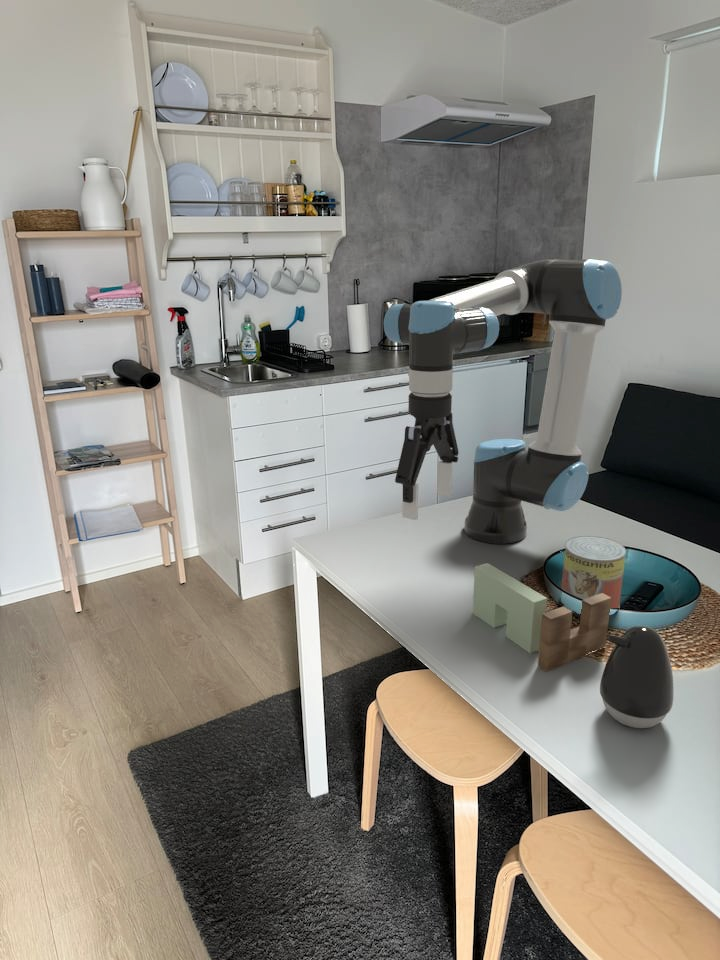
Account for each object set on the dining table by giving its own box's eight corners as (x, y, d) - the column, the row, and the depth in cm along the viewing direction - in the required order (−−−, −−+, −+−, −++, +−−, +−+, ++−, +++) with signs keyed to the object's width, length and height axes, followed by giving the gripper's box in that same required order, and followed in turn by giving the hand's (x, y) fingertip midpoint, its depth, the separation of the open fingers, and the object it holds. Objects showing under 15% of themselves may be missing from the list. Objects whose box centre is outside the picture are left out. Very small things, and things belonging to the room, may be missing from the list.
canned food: (551, 606, 136) (556, 551, 132) (570, 584, 145) (575, 531, 141) (610, 623, 130) (617, 565, 126) (626, 598, 139) (633, 543, 135)
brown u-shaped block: (596, 642, 124) (602, 592, 120) (605, 648, 122) (611, 597, 119) (537, 665, 117) (542, 613, 114) (546, 671, 116) (550, 619, 112)
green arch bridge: (484, 609, 135) (487, 562, 132) (542, 648, 122) (547, 598, 119) (472, 613, 134) (474, 566, 131) (530, 653, 121) (534, 602, 118)
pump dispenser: (585, 697, 109) (594, 612, 104) (648, 693, 110) (661, 608, 105) (612, 741, 99) (625, 650, 94) (682, 736, 100) (698, 645, 95)
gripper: (442, 378, 132) (439, 482, 139) (374, 404, 113) (375, 524, 120) (479, 382, 128) (474, 489, 135) (415, 409, 109) (413, 533, 116)
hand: (427, 506), depth 128 cm, fingers open, 13 cm apart
